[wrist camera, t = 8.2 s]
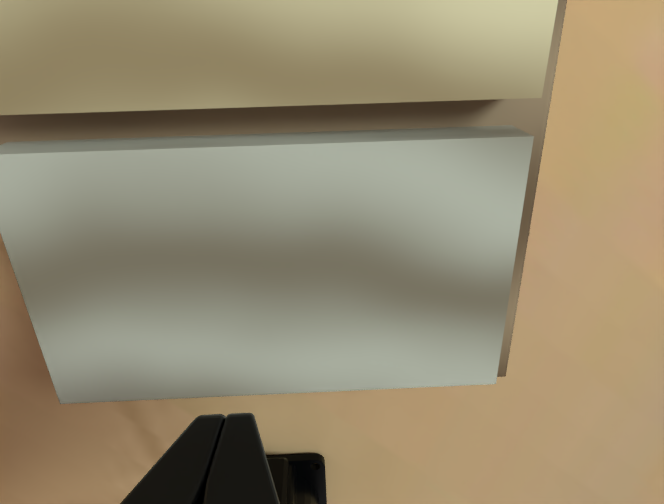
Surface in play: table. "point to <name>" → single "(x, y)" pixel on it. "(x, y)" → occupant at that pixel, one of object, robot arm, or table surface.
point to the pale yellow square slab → (267, 53)
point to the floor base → (273, 243)
